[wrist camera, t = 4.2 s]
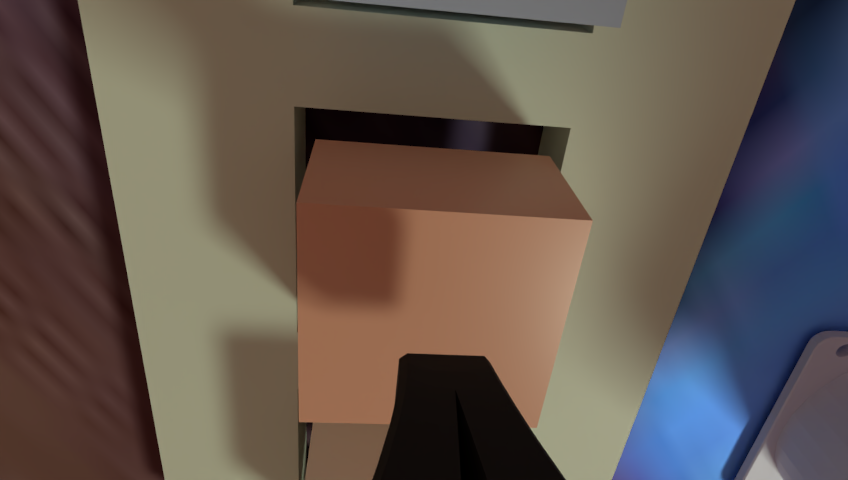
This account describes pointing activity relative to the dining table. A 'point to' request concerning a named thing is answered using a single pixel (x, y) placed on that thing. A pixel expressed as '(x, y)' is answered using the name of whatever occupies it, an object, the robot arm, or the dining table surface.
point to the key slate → (525, 9)
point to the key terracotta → (429, 271)
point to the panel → (415, 96)
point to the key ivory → (345, 451)
